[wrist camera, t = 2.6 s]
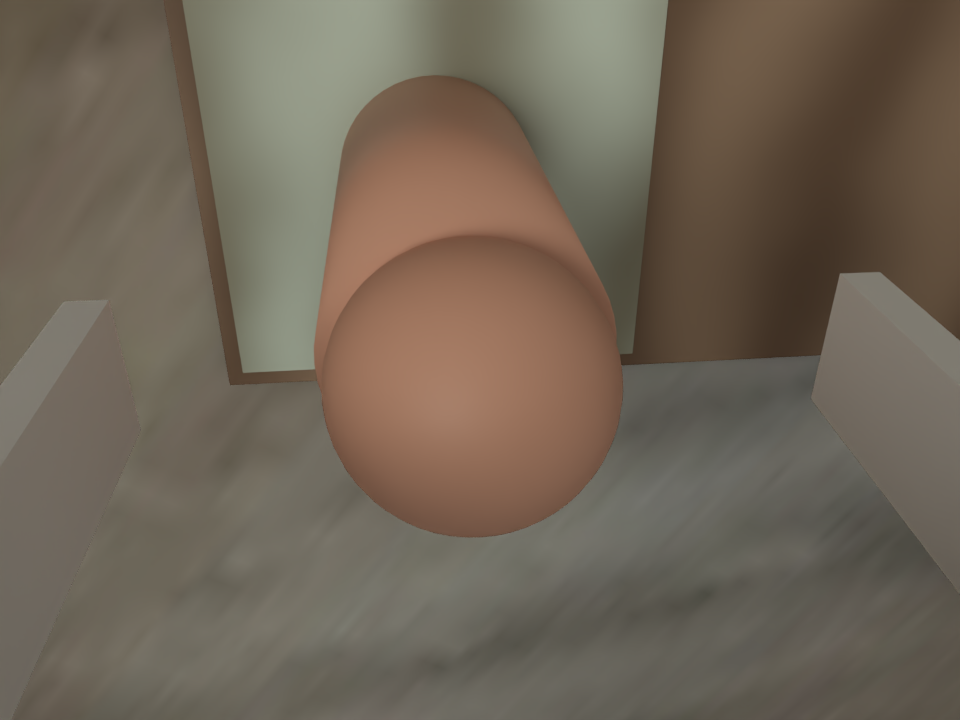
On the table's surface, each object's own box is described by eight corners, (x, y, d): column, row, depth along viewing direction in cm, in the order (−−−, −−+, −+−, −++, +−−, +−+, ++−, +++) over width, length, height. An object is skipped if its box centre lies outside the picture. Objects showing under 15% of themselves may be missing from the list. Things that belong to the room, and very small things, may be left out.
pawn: (347, 264, 26) (315, 625, 14) (332, 77, 24) (274, 318, 11) (527, 256, 27) (653, 600, 14) (532, 72, 24) (694, 299, 12)
